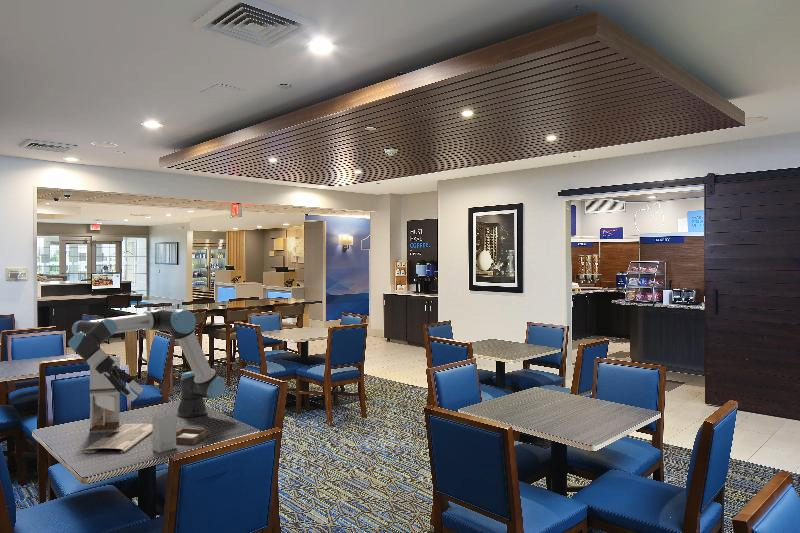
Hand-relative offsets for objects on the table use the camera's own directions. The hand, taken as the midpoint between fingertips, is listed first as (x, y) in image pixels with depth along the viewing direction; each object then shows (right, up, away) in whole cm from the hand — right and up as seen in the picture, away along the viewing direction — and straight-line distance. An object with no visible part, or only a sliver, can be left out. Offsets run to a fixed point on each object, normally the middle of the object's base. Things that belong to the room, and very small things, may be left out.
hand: (138, 395), depth 244 cm
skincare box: (+10, -25, +3) cm, 27 cm away
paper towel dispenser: (-31, -24, +31) cm, 50 cm away
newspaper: (-13, -25, +16) cm, 32 cm away
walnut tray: (+15, -24, +17) cm, 33 cm away
